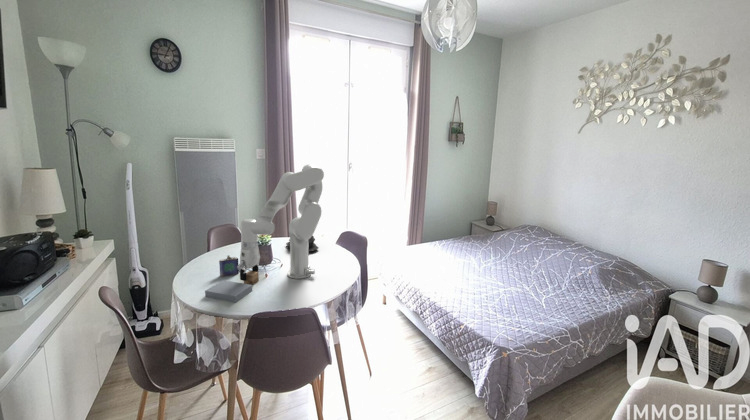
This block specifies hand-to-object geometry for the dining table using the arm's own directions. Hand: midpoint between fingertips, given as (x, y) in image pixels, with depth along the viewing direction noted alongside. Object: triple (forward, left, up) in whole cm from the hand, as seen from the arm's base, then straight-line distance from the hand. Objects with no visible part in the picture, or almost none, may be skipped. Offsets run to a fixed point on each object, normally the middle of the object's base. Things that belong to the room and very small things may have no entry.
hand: (249, 276), depth 162 cm
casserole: (-1, -57, -4) cm, 57 cm away
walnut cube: (-1, -1, -3) cm, 3 cm away
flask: (+15, -5, -4) cm, 16 cm away
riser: (+1, +13, -3) cm, 14 cm away
